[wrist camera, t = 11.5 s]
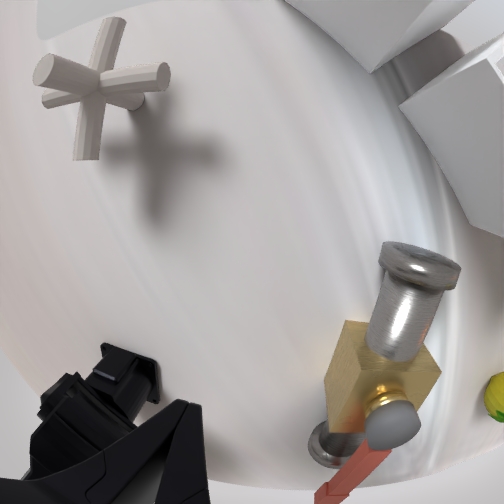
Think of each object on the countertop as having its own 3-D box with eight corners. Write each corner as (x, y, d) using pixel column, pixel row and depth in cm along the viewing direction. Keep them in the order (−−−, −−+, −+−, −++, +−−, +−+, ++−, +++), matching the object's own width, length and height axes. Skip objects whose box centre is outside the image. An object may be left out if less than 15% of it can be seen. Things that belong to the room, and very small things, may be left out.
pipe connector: (203, 40, 16) (145, -33, 6) (183, 162, 19) (94, 159, 9) (100, 56, 17) (22, 23, 7) (82, 160, 19) (-11, 167, 10)
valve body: (360, 426, 23) (369, 478, 17) (304, 424, 24) (304, 479, 17) (438, 251, 18) (491, 285, 11) (368, 235, 18) (407, 269, 11)
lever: (378, 399, 13) (383, 419, 12) (423, 399, 13) (431, 417, 11) (307, 492, 18) (307, 506, 16) (342, 492, 17) (342, 505, 16)
